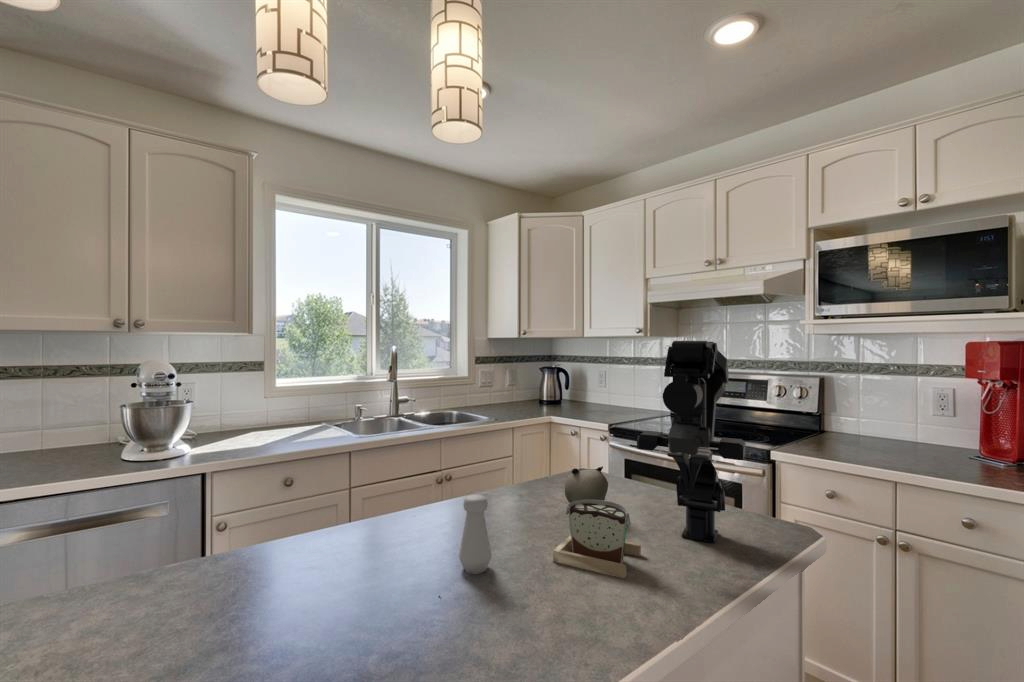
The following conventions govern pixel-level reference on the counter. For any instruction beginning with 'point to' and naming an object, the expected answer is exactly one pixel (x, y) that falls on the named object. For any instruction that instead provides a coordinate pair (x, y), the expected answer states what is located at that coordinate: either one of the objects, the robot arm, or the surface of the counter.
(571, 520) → the food container
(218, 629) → the counter surface
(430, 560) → the counter surface
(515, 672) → the counter surface
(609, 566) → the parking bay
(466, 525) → the salt shaker
